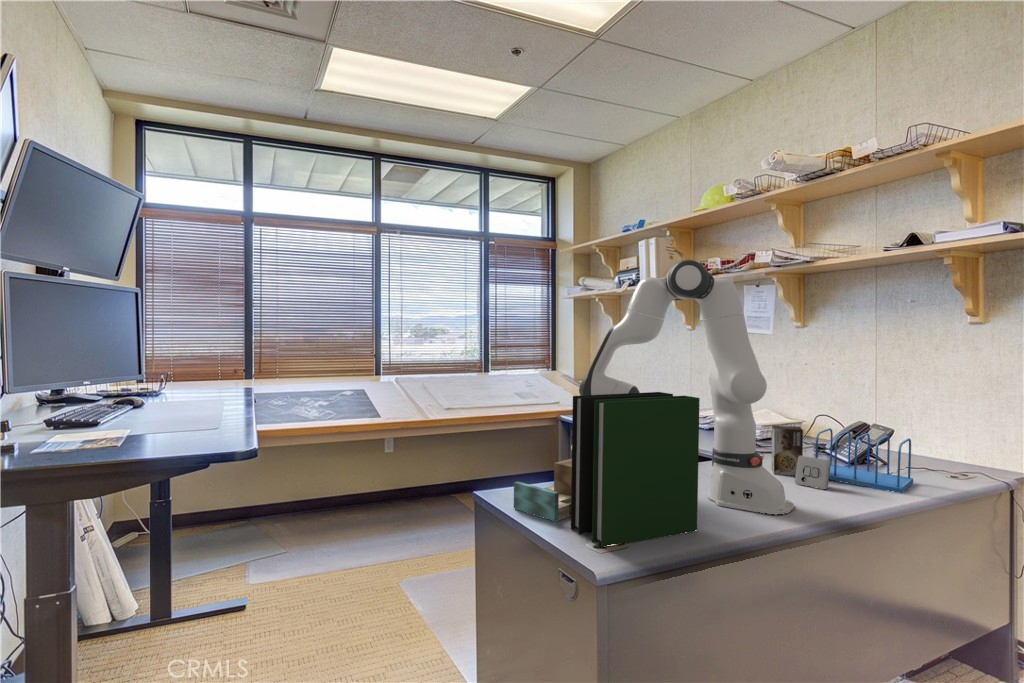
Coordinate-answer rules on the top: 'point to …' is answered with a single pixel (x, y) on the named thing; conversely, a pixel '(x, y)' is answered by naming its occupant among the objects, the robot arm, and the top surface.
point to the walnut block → (563, 477)
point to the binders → (634, 466)
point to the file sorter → (866, 476)
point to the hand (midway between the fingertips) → (591, 471)
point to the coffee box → (786, 449)
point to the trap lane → (541, 501)
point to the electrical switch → (812, 472)
